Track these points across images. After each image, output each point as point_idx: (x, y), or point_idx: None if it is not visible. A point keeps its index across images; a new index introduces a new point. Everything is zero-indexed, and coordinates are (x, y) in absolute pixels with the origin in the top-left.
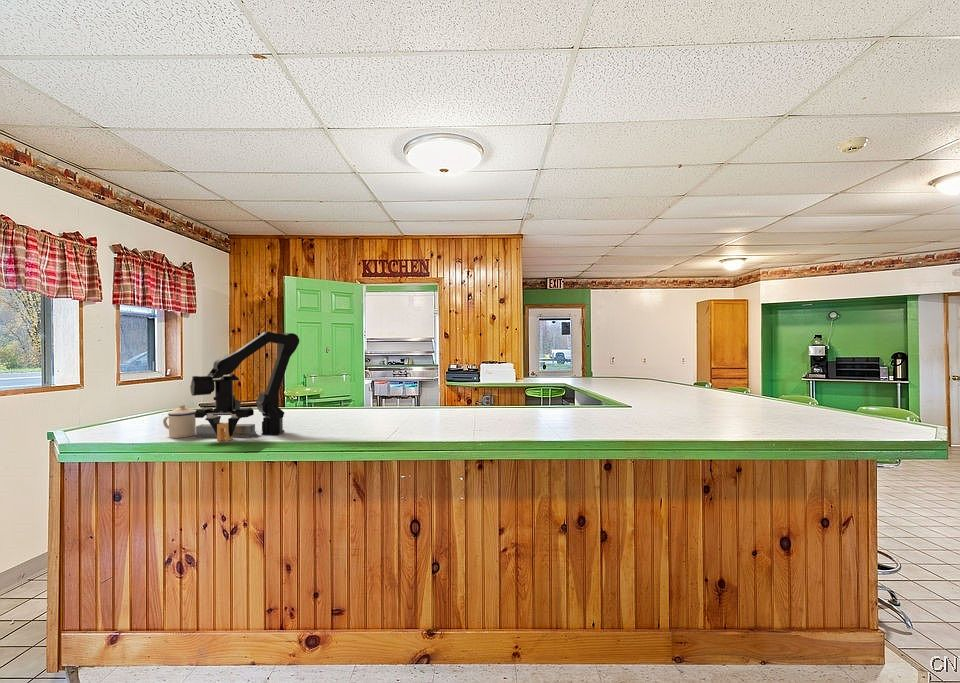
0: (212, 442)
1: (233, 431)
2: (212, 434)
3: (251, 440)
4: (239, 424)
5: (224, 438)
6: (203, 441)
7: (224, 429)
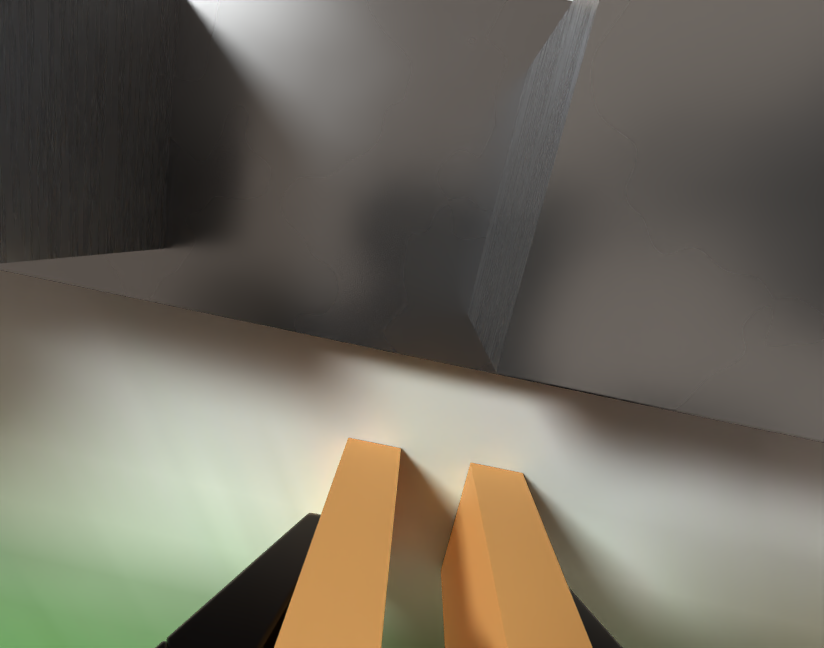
0: None
1: (600, 638)
2: (103, 256)
3: (809, 633)
4: (779, 80)
5: (398, 456)
6: (143, 538)
7: (386, 581)
